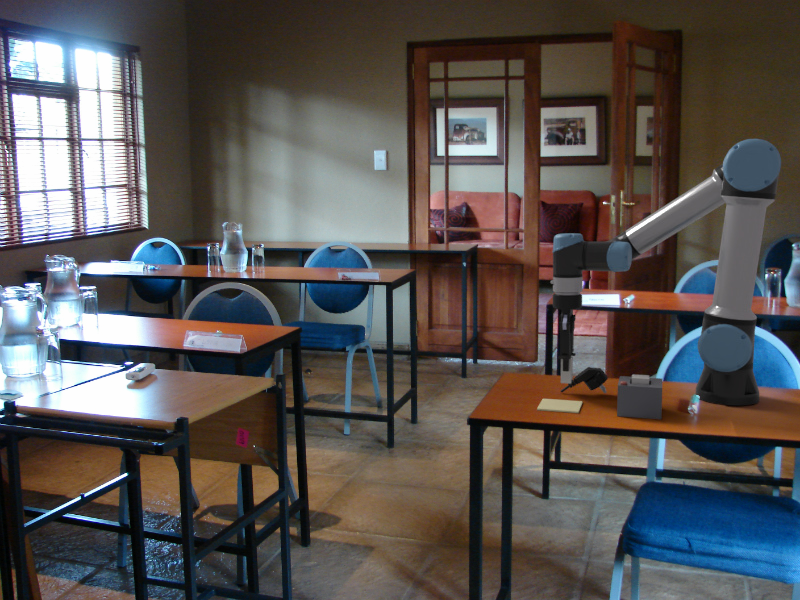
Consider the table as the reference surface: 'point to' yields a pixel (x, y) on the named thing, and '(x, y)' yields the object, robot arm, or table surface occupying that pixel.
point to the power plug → (590, 379)
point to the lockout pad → (560, 405)
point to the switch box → (639, 398)
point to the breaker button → (640, 379)
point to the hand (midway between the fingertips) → (566, 381)
